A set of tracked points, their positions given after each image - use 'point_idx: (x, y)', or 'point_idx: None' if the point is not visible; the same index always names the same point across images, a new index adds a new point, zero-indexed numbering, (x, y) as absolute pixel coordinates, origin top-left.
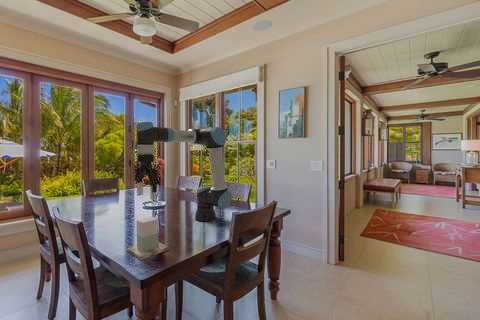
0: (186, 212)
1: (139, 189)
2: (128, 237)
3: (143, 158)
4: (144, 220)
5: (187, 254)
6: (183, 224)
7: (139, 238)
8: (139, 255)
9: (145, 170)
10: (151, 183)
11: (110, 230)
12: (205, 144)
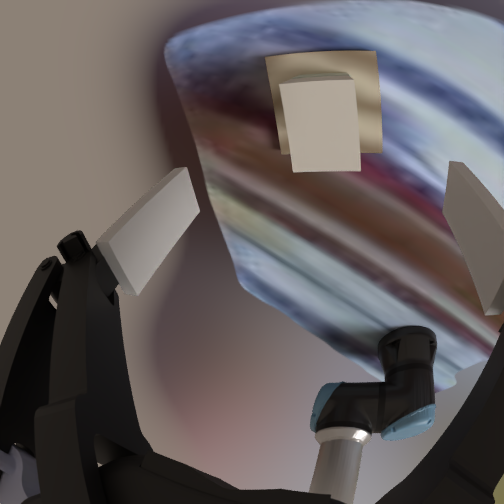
0: (483, 341)
1: (471, 212)
2: (490, 122)
3: None
4: (319, 109)
5: (219, 177)
6: (431, 292)
7: (323, 75)
8: (278, 57)
9: (43, 465)
10: (77, 263)
11: None
12: None
